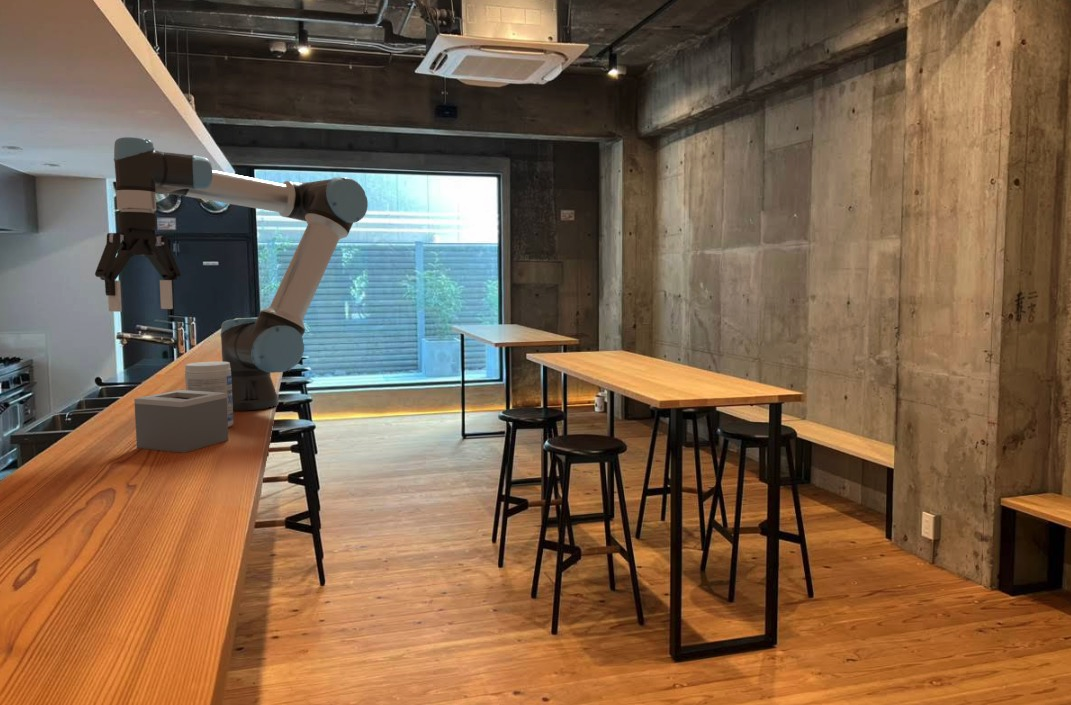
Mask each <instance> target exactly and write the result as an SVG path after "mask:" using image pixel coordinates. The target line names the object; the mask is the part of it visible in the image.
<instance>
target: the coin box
mask: <svg viewBox="0 0 1071 705" xmlns="http://www.w3.org/2000/svg"><path fill="white" fill-rule="evenodd" d="M133 399H134V400H133V401H134V414H135V415H134V416H135V418H134V419H135V436H136V437H135V438H136V439H135V440H136V448H137V449H145V450H153V451H154V450H155V451H164V452H174V453H182V454H185V453H188V452H193V451H195V450H199V449H201V448H206V447H208V446H213V445H216V444H219V443H223V442H226V441H229V427H228V415H227V393H220V392H205V391H191V390H186V389H178V390H173V391H168V392H163V393H158V394H157V393H156V394H152V395H146V396H141V397H135V398H133Z"/></svg>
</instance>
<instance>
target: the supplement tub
mask: <svg viewBox="0 0 1071 705" xmlns="http://www.w3.org/2000/svg"><path fill="white" fill-rule="evenodd" d="M184 369H185V370H184V372H185V374H184V377H185V378H184V379H185V382H184V383H185V390H191V391H205V392H220V393H227V415H228V428H231V427H232V426H233V425H234V411H233V400H232V380H231V368H230V363H229V362H222V361H201V362H190V363H186V364H185V368H184Z"/></svg>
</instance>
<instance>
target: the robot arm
mask: <svg viewBox="0 0 1071 705" xmlns="http://www.w3.org/2000/svg"><path fill="white" fill-rule="evenodd" d="M113 145H114V148H113V151H114V152H113V154H114V155H113V161H114V162H113V163H114V174H115V175H114V176H115V185H116V186H115V188H116V190H115V191H116V192H115V194H116V208H117V210H118V211H119V212H117V228H118V229H119V230H120V233H119V232H108V233H107V234H106V244H105V246H104V249H103V251H102V255H101V257H100V259H99V261H98V264H97V266H96V270H95V273H94V275H95V276H96V278H100V280H102V281H104V290H105V293H104V294H105V296H107V300H108V303H107V304H108V311H109V312H115V313H116V312H122V290H121V280H119V279H118V277H119V276H120V274H121V272H122V271H123V270H124V269H125V267H126V265H127V263H128V262H129V261H130V259H132V257H134V256H144V257H145V258H147V259H148V260H149V262H150V263H151V264H152V266H153V267H154V269H155V270H156V272H157V273H158V274H159V275H160V277H161V278H162V279H159V293H160V295H159V297H160V298H159V299H160V309H161V310H172V309H174V307H173V306H174V305H173V303H174V302H173V294H174V293H175V292H174V289H175V288H174V287H175V286H174V281H176V280H178V278H180V277H181V276H182V273H181V270H180V269H179V266H178V264H177V262H176V259H175V257H174V256H173V253H172V250H171V248H170V246H169V239H168V236H167V235H156V231H157V230H158V216H157V214H156V213H155V212H156V211H157V194H158V195H163V194H167V195H168V194H169V195H175V196H182V197H189V198H194V199H201V200H206V201H212V202H217V203H223V204H224V203H225V204H229V205H235V206H241V207H246V208H247V207H248V208H250V209H251V208H253V209H258V210H264V211H269V212H276V213H278V214H279V215H280V216H281V217H283V218H287V219H293V220H298V221H302V222H306V223H307V226H306V228H305V230H304V231H303V232H304V233H303V235H302V237H301V238H300V241H299V243H298V245H297V247H296V249H295V252H294V253H293V255H292V258H291V260H290V263H289V265H288V267H287V269H286V271H285V273H284V274H283V277H282V280H281V282H280V284H279V286H278V289H277V291H276V292H275V295H274V296H273V299H272V300H271V304H270V306H268V307H267V308H264V309H261V310H260V312H259V314H258V316H257V317H244V318H235V319H227V320H225V321H223V322H222V323H221V325H220V327H221V328H220V340H221V344H220V345H221V362H229V363H230V368H231V380H232V400H233V412H236V411H237V412H238V411H242V412H243V411H246V412H247V411H256V410H264V409H270V408H269V407H271V408H274V407H277V406H278V405H279V396H278V394H277V392H276V389H275V386H274V383H273V379H272V377H271V374H272V373H273V374H274V373H285V372H287V371H290V370H291V369H293V368H294V367H295V366H297V365H298V364H299V362H300V361H301V360H302V357H303V355H304V351H305V344H304V339H303V336H304V335H305V331H306V327H305V325H304V322H303V320H304V318H305V316H306V315H307V312H308V310H309V308H310V305H311V303H312V300H313V299H314V296H315V294H316V292H317V290H318V288H319V286H320V283H321V280H322V278H323V276H324V274H325V271H326V269H327V268H328V266H329V263H330V260H331V258H332V256H333V254H334V252H335V250H336V247H337V245H338V243H339V241H340V240H341V239H344V238H347V237H348V236H349V233H350V231H351V230H352V227H353V224H354V223H358V222H360V221H361V220H362V219H363V218H364V217H365V216H366V213H367V211H368V205H369V204H368V201H369V200H368V197H367V195H366V192H365V190H364V188H363V187H362V185H361V184H360V183H359V182H358V181H356V180H355V179H353V178H351V177H345V176H344V177H343V176H342V177H341V176H335V177H333V178H329V179H323V180H322V179H321V180H316V181H309V182H298V181H297V182H294V181H290V180H286V181H284V182H282V183H279V182H277V181H275V182H274V181H270V180H264V179H259V178H255V177H250V176H244V175H240V174H235V173H230V172H225V171H220V170H213V167H212V163H211V161H210V160H209V159H208V158H207V157H204V156H201V155H195V154H185V153H174V152H164V151H159V150H155V147H154V143H153V141H151V140H150V139H145V138H143V137H142V138H140V137H129V136H128V137H126V136H125V137H120V138H117V139H115V141H114V144H113ZM117 279H118V280H117ZM273 406H274V407H273Z"/></svg>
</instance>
